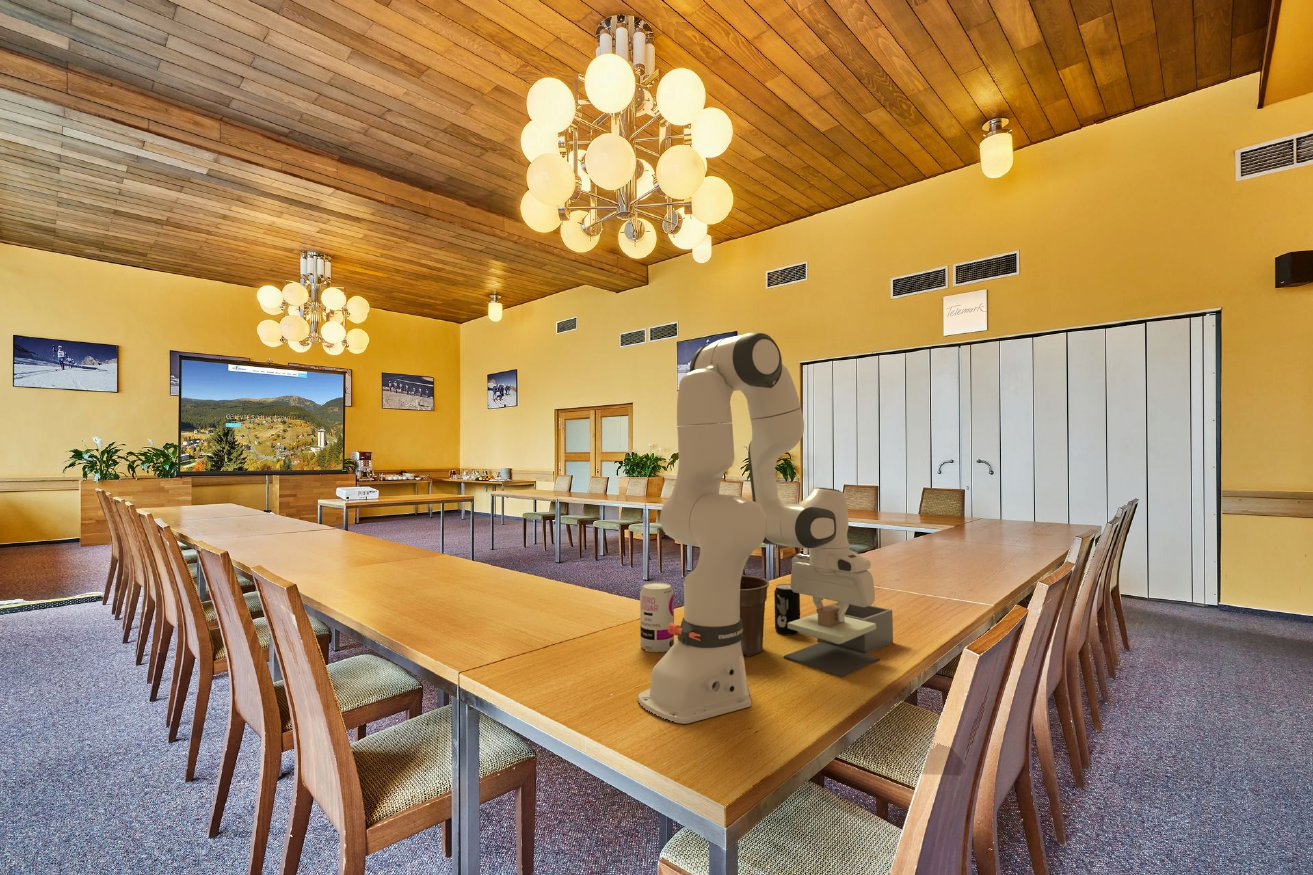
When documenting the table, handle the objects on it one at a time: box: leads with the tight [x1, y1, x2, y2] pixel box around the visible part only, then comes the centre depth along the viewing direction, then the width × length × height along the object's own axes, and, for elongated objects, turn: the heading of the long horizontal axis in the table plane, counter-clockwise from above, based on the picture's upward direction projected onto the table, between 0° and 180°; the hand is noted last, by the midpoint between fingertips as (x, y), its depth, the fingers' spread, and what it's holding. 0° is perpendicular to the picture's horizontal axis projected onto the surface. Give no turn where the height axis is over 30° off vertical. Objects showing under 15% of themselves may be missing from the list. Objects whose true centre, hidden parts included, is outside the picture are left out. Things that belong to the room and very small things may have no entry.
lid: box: [788, 603, 876, 644], centre depth 128 cm, size 14×14×6 cm
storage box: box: [816, 602, 894, 655], centre depth 139 cm, size 13×13×8 cm
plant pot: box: [740, 575, 770, 657], centre depth 135 cm, size 16×16×16 cm
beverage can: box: [773, 583, 801, 636], centre depth 148 cm, size 7×7×12 cm
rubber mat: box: [783, 642, 880, 678], centre depth 127 cm, size 15×15×1 cm
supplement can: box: [639, 582, 675, 653], centre depth 136 cm, size 8×8×15 cm
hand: (831, 618), depth 128 cm, fingers closed on lid, 3 cm apart
